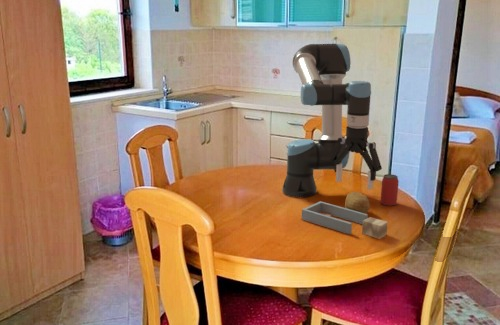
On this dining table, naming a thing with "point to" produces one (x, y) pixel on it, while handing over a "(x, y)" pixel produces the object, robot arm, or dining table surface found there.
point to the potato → (357, 202)
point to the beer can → (389, 190)
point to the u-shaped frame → (324, 211)
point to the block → (374, 227)
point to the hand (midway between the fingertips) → (353, 184)
